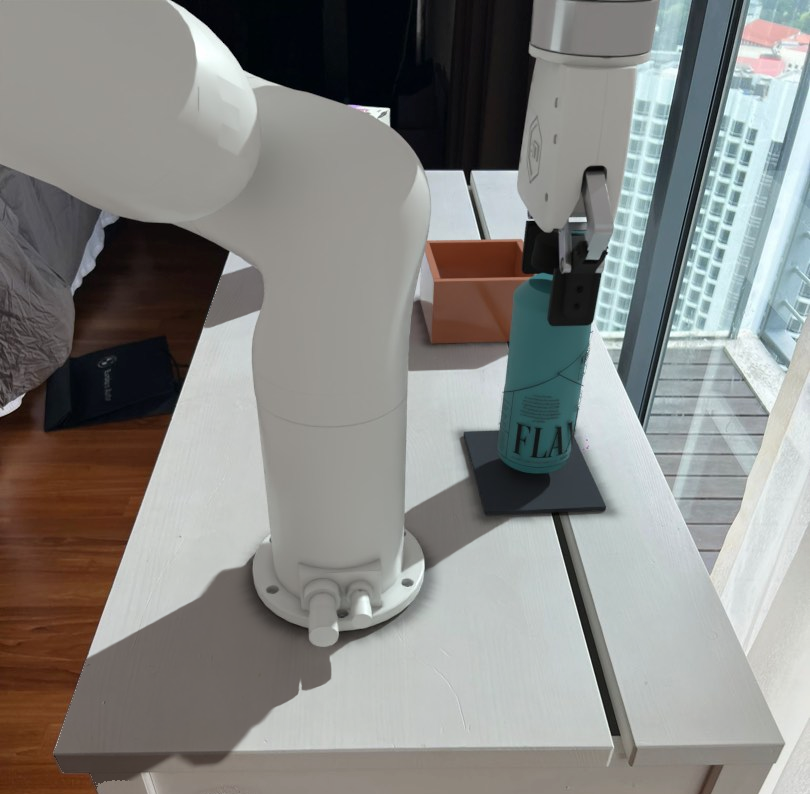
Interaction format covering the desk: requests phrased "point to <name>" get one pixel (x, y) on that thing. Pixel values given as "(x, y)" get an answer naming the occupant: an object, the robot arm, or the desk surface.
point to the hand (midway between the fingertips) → (554, 296)
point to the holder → (470, 289)
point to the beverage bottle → (541, 372)
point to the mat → (530, 482)
